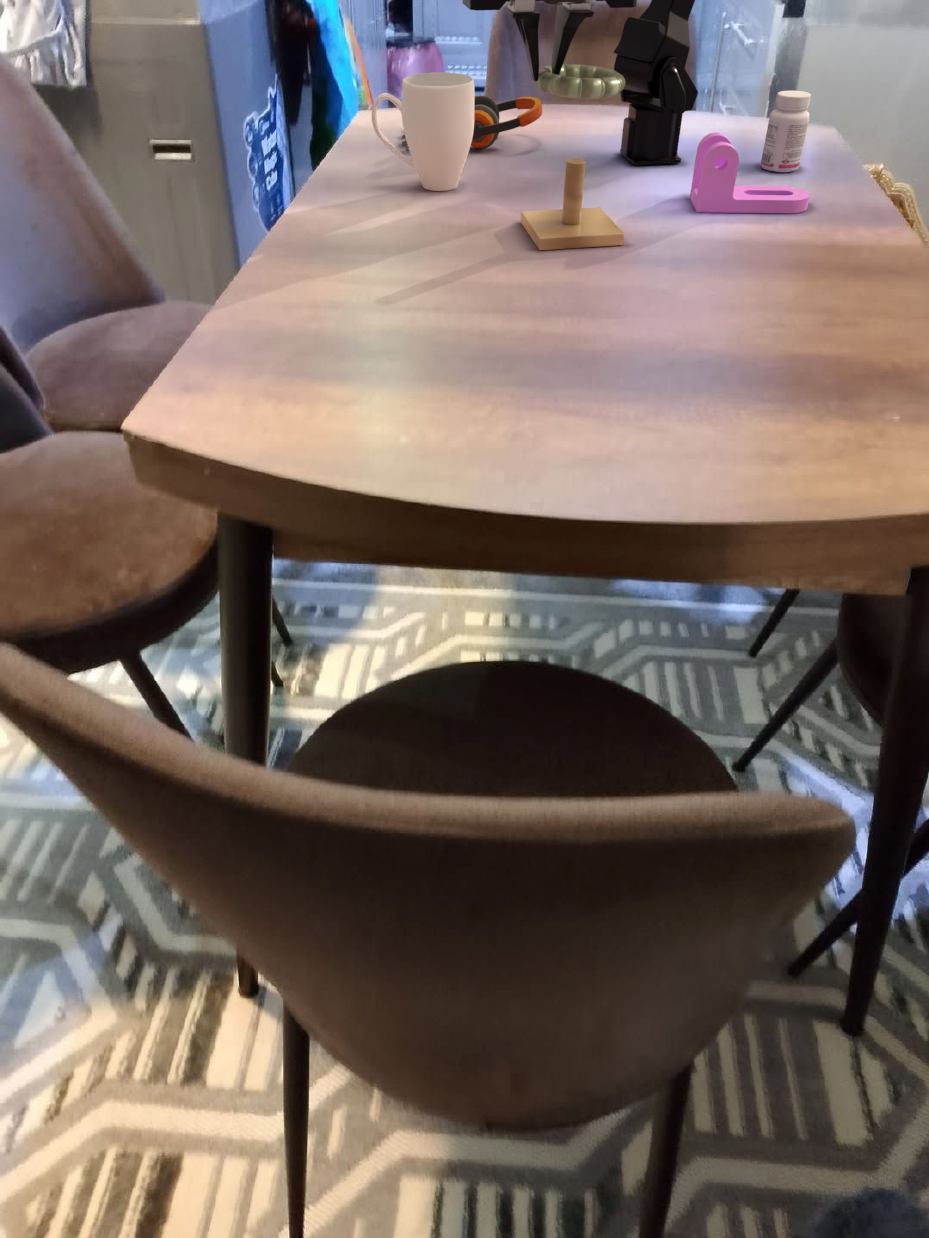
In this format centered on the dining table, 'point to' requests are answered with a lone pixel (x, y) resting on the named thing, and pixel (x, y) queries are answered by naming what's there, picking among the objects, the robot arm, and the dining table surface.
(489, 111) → the headphones
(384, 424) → the dining table surface
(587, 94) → the ring
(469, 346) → the dining table surface
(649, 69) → the robot arm
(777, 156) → the pill bottle
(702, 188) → the bracket
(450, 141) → the mug
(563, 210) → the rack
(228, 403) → the dining table surface
